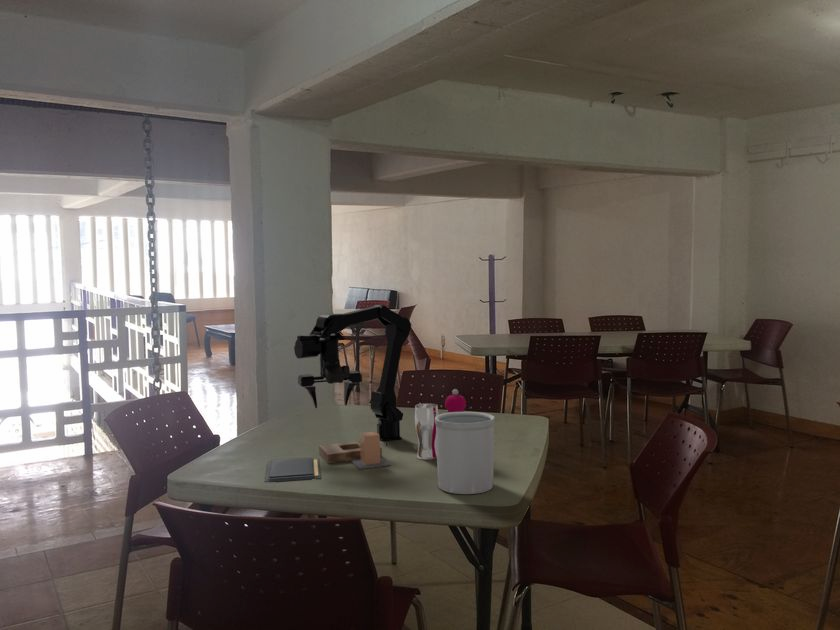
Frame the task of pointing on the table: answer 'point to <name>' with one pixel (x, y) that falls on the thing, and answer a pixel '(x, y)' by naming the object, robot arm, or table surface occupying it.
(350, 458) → the pocket board
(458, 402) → the pepper mill
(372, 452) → the block
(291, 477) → the dark blue flat slab
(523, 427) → the table surface
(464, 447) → the utensil holder
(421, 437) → the beer glass
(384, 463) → the pad
